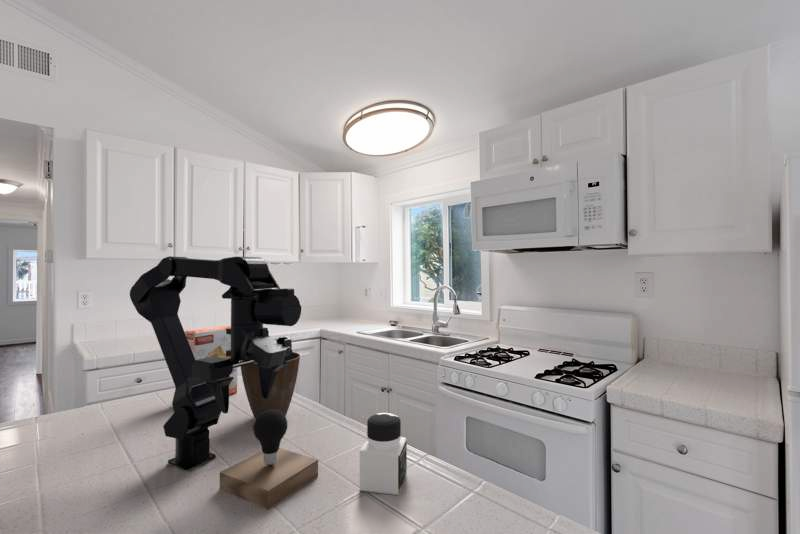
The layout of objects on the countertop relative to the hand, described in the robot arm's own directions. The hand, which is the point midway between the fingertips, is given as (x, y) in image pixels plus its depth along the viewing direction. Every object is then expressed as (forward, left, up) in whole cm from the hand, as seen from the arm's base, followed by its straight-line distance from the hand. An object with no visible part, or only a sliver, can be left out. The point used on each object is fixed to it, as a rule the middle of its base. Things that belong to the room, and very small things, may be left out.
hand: (246, 405), depth 75 cm
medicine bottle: (+24, +10, -13) cm, 29 cm away
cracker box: (-46, +25, -13) cm, 54 cm away
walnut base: (+6, 0, -13) cm, 14 cm away
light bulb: (+6, 0, -10) cm, 12 cm away
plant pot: (-18, +22, -13) cm, 31 cm away
